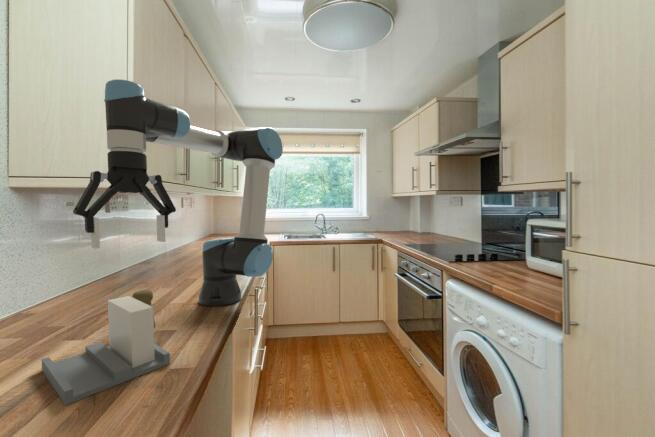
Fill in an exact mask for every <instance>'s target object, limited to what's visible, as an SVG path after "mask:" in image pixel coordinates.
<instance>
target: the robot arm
mask: <svg viewBox="0 0 655 437" xmlns="http://www.w3.org/2000/svg"><path fill="white" fill-rule="evenodd" d="M104 88H105V89H104V99H103V100H104V105H105V121H106V122H105V123H106V145H107V146H106V147H107V150H109V152H107V154H106V155H107V172H106V173H105V172H101V171H99V170H95V171H91V172H90V175H89V176H90V178H89V182H88V184H87V186H86V188H85V190H84V191H83V193H82V195H80V198H79V200H78V202H77V203H76V205H75V207H74V208H73V210H72V213H73V214H74V215H77V216H81V217H83V219H84V227H85V228H84V229H85V230H84V231H85V232H86V234H90V239H91V240H90V241H91V248H92V249H100V248H101V243H100V242H101V240H100V239H101V238H100V237H101V236H100V219H99V218H100V217H95V216H96V214H97V213H99V211H101V209H102V208H104V206H105V205H106V204H107V203H108V202H109V201H110V200H111V199H112V197H113V196H115V195H116V194H118V193H120V194H138V193H139V194H140V195H142V197H143V198H145V200H146V201H147V202H148V203H149V204H150V205H151V206H152V207H153V208H154V210H156V211H157V212H158V215H157V214H156V237H157V238H156V239H157V240H156V241H157V242H160V243H161V242H162V243H165V242H166V228H167V229H168V227H169V216H170V214H172V213H175V212H176V211H177V209H176V206H175V204H174V202H173V201H172V198H170V196H169V194H168V192H167V190H166V188H165V186H164V184H163V179H162V176H161V175H160V174H156V175H155V174H154V175H148V172H147V170H148V162H147V155H146V154H145V153H146V152H147V142H148V143H154V144H160V145H165V146H171V147H174V148H175V147H176V148H181V149H187V150H193V151H200V152H204V153H209V154H211V155H212V156H214V157H216V158H222V159H226V160H231V161H237V162H242V164H243V165H244V166H245V176H244V184H243V185H244V186H243V195H242V204H241V214H240V223H239V224H240V225H239V232H238V233H237V234H236V235H235V236H234V237H228V238H227V237H226V238H219V239H211V240H206V241H204V242H203V244H202V269H203V270H202V272H203V274H202V275H203V277H202V278H203V281H202V284H201V288H200V291H199V294H198V304H200V305H202V306H204V307H205V306H207V307H221V306H228V305H232V304H234V303H235V304H236V303H237V302H239V301H241V300H242V291H241V288H240V285H239V282H238V280H237V276H244V277H249V278H250V277H253V278H254V277H255V278H256V277H257V278H259V277H262V276H263V275H265V274H266V273H267V271H269V270H270V269H271V268H270V267H271V266H272V263H273V259H274V252H273V249H272V246H271V245H270V244H268V237H267V236H266V235H265V228H266V227H265V226H266V216H267V204H268V195H269V186H270V185H269V183H270V172H271V170H272V169H273V168H274V167H275V165H276V160H278V159H280V158H281V157H282V154H283V151H284V150H283V143H282V142H283V141H282V139H281V137H280V134H279V133H278V132H277V130H276V129H274V128H272V126H271V127H270V126H266V127H265V126H260V127H256V128H248V129H241V130H232V131H226V130H225V131H224V130H218V129H217V130H215V131H212V130H208V129H206V128H201V127H197V126H194V125H191V118H190V116H189V114H188V112H186V111H185V110H183V109H180V108H178V107H177V106H172V105H170V104H169V105H168V104H166V103H163V102H160V101H159V102H158V101H156V100H153V99H150V98H147V97H146V94H145V89H144V87H143V86H142V85H140V84H139V83H137V82H134V81H130V80H125V79H112V80H108V81H107V82H106V83H105V87H104ZM105 179H106V181H107V182H108V183H109V184H110V185H109V186H108V187H107V189H105V191H104V192H103V193H101V195H100V196H99V197H97V199H96V201H94V202H93V204H92V205H91V206H89V208H88V205H89V204H90V202H91V201H92V198H93V197H94V195H95V193H96V191H97V190H98V187H100V184H101V183H103V182H104V181H105ZM149 182H150V184H151V185H153V189H154V190H155V192H156V193H157V196H158V197H159V199H160V200H159V199H158V198H157V197H156V196H155V195H154V194H153V193H152V191H151V189H150V188H148V186H147V184H148V183H149ZM87 208H88V209H87ZM86 209H87V210H86Z"/></svg>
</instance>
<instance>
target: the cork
mask: <svg viewBox="0 0 655 437" xmlns="http://www.w3.org/2000/svg"><path fill="white" fill-rule="evenodd" d="M131 297H132V298H135V299H137V300H139V301H141V302H143V303H145V304H147V305H150V306H152V305H153V304H152V300H153V299H154V294H153V291H152V290H150V289H149V290H148V289H143V290H137V291H135V292H134V293H133V294H132V296H131ZM152 307H153V306H152ZM153 316H154V317H155V315H154V314H153ZM155 328H156V322H155V320H154V329H155Z"/></svg>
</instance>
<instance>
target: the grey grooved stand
mask: <svg viewBox="0 0 655 437" xmlns="http://www.w3.org/2000/svg"><path fill="white" fill-rule="evenodd" d="M154 352H155V360H153V361H150V362H147V363H145V364H142V365H139V366H137V367H134V368H132V367H131V366H130V365H128V364H127V363H126V362H125V361H123V360H122V359H121V358H120V357H119V356H117V355H116V354H115V353H114V352H112V351H111V350H110V349H109V345H105V344H104V343H103V342H101V341H99V342H95V343H93V344H89V345H86V346H85V352H83V353H80V354H77V355H73V356H70V357H67V358H64V359H60V360H57V361H55V362H54V361H52V359H51V357H49V356H48V357H45V358H42V359H41V369H42V370H41V371H42V372H43V375H45V377H46V379H47V380H48V382H49V383H50V385H51V387H52V388H53V390H55V392H56V394H57V395H58V396H59V398H60V400H61V401H62V403H63V404H64V406H68V405H69V404H72V403H75V402H77V401H80V400H83V399H85V398H87V397H90V396H92V395H94V394H95V395H96V394H97V393H100V392H102V391H105V390H108V389H110V388H113V387H116V386H117V385H120V384H122V383H125V382H128V381H130V380H132V379H135V378H137V377H140V376H142V375H144V374H147V373H150V372H153V371H155V370H157V369H160V368H163V367H165V366H167V365H170V364H171V360H170V359H171V358H170V356H171V354H170V352H169V351H167V350H166V349H164V348H163V347H161V346H160V345H158V344H156V343H155V342H154Z"/></svg>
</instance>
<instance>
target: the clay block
mask: <svg viewBox="0 0 655 437" xmlns="http://www.w3.org/2000/svg"><path fill="white" fill-rule="evenodd" d="M107 313H108V314H107V316H108V318H107V319H108V321H107V322H108V343H109V344H108V346H109V349H110V350H111V351H112V352H114V353H115V354H116V355H117V356H119V357H120V358H121V359H122V360H123V361H125V362H126V363H127V364H128V365H130V366H131V367H132V368H134V367H137V366H139V365H142V364H145V363H147V362H150V361H153V360H155V352H154V343H155V328H154V321H155V315H154V307H153V306H150V305H147V304H145V303H143V302H141V301H139V300H137V299H135V298H132V296H130V295H127V296H121V297H118V298H117V297H116V298H111V299H107ZM153 315H154V316H153Z"/></svg>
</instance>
